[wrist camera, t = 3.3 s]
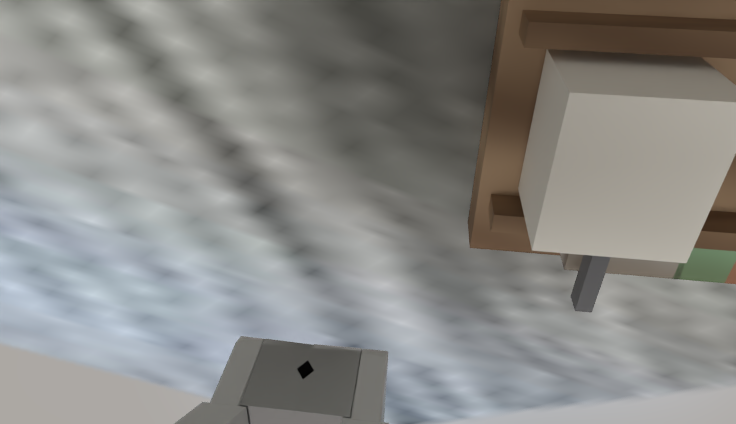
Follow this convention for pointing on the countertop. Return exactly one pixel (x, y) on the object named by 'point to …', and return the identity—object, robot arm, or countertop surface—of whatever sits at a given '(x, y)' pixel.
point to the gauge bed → (518, 98)
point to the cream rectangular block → (624, 158)
